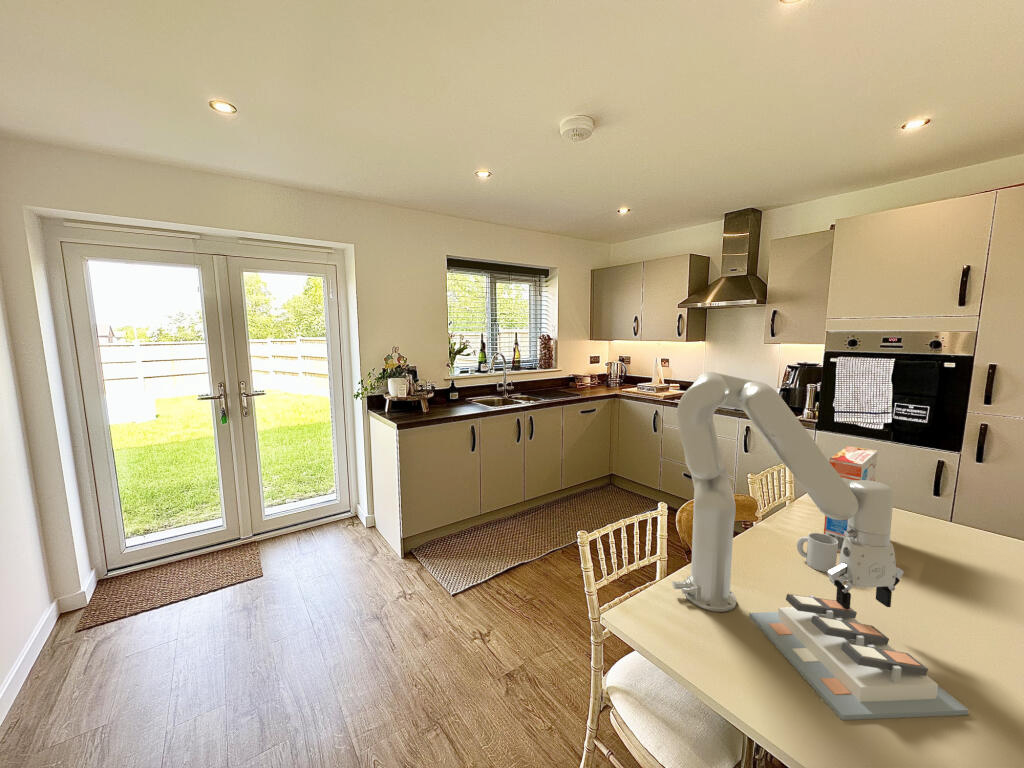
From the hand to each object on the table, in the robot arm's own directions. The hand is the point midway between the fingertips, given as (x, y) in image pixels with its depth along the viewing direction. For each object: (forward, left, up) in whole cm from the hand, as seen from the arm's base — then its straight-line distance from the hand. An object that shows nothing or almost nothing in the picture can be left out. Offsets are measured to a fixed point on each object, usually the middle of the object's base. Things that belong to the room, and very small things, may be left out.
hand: (862, 604), depth 97 cm
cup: (+11, +28, -7) cm, 31 cm away
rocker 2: (-10, -8, 0) cm, 13 cm away
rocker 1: (-10, 0, 0) cm, 10 cm away
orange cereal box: (+33, +42, -7) cm, 54 cm away
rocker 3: (-10, -16, 0) cm, 19 cm away
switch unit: (-10, -8, -7) cm, 14 cm away
